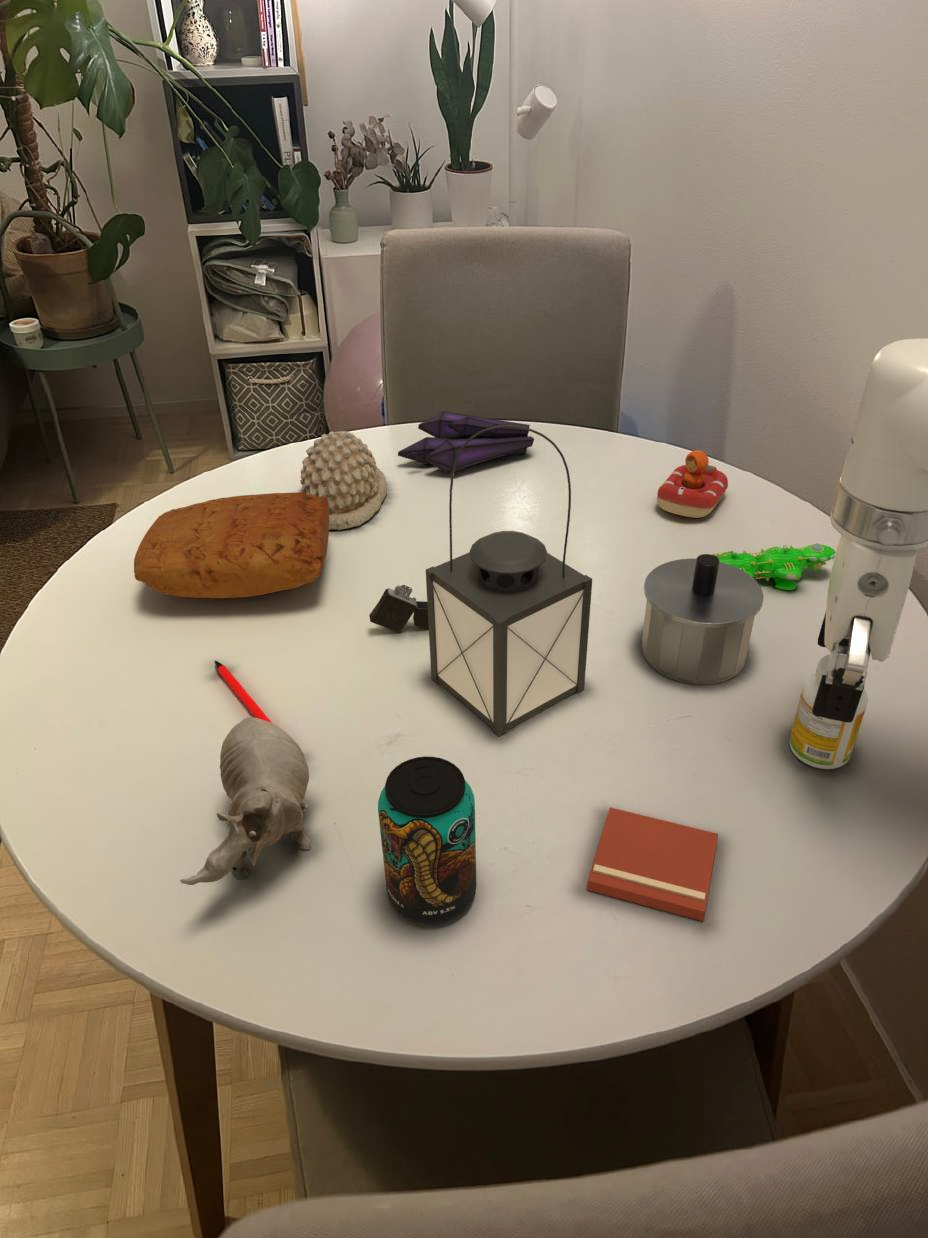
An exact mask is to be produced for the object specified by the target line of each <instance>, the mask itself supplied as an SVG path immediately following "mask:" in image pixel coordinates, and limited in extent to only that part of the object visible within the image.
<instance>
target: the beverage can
mask: <svg viewBox="0 0 928 1238" xmlns="http://www.w3.org/2000/svg"><path fill="white" fill-rule="evenodd" d="M379 794H380V795H379V797H378V801H377V812H378V822H379V831H380V840H381V851H382V858H383V859H382V860H383V867H384V876H385V885H386V893H387V896H388V899H389V902H390V904H391V906H392V907H393V908H394V909H395V910H396V911H397V912H398V913H399V914H400V915H402V916H403V917H404V918H406V919H408V920H411V921H413V922H416V923H421V924H438V923H444V922H447V921H449V920H453V919H454V918H456V917H457V916H459V915H460V914H462V913H463V912H464V911H465V910H466V909H468V907H469V906H470V904H471V903H472V902H473V900H474V897H475V895H476V891H477V886H478V885H477V845H476V843H477V841H476V840H477V839H476V836H477V835H476V801H475V795H474V791H473V789H472V787H471V786H470V784H469V783H468V781H467V780H466V779H465V777H464V774H463V772H462V771H461V769H460V768H459V767H458V766H457V765H456V764H455V763H453V762H451V761H449V760H447V759H444V758H442V757H438V756H437V757H436V756H425V755H424V756H417V757H413V758H410V759H407V760H404V761H403V762H400V763H399V764H398V765H396V766H395V767H394V768H393V769H392V770H391V771H390V772H389V774H388V776H387V777H386V780H385V784H384V786H383V788H382V790H381V791H380V793H379Z"/></svg>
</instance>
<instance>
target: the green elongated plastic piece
mask: <svg viewBox="0 0 928 1238" xmlns="http://www.w3.org/2000/svg"><path fill="white" fill-rule="evenodd" d="M836 551H837V550H836V549H834V548H832V547H830V546H829V545H825V544H822V543H811V544H809V545H807V546H802V547H800V548H799V547H798V548H795V547H794V546H793V545H790V546H789V547H788V545H782V547H780V546H772V547H768V548H766V549H764V548H761V549H760V551H759V552H750V553H748V552H747V551H746V550H745V549H744V550H743V551H742V553H737V551H735V550H730V551H724V552H721V553H720V552H718V553H716V554H715V553H712V554H711V555H714V556H716V557H717V558H718V559H719V562H722V563H726V564H729V565H732V566H734V567H736V568H739V569H741V570H742V571H744V572H746V573H747V574H749V575H750V576H751V577H753V578H754V579H755V580H757V579H758V580H760V579H765V580H766V581H767V582H769V581H770V579H772V578H773V579H774V582H775V586H774V588H777V589H780V590H784V591H793V590H795V589H796V588H797V586H798V585H797V583H796V581H798V580H799V581H800V579H801V578H802V575H803V572H804V571H805V570H806V568H808V569H810V570H812V571H813V572H814V573H820V572H821V571H822V570H820V568H822V567H823V566H826V565H827V562H829V561H831V560H834V559H835V555H836ZM821 573H822V572H821Z"/></svg>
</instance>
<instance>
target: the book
mask: <svg viewBox="0 0 928 1238" xmlns="http://www.w3.org/2000/svg"><path fill="white" fill-rule="evenodd" d="M718 839H719V833H718V832H717V833H716V832H713V831H709V830H705V829H701V828H697V827H693V826H688V825H685V824H680V823H676V822H672V821H667V820H665V819H659V818H654V817H651V816H647V815H642V814H639V813H635V812H630V811H626V810H624V809H623V810H622V809H619V808H616V807H615V808H614V807H609V809H608V812H607V816H606V818H605V822H604V826H603V828H602V832H601V835H600V838H599V842H598V845H597V847H596V848H597V849H596V851H595V855H594V859H593V862H592V864H591V869H590V871H589V875H588V879H587V885H586V890H587V891H589V892H593V893H597V894H599V895H605V896H608V897H612V898H615V899H619V900H623V901H627V902H630V903H634V904H637V905H641V906H645V907H649V908H653V909H656V910H660V911H664V912H667V913H671V914H675V915H678V916H681V917H685V918H689V919H693V920H696V921H700V922H704V920H705V915H706V911H707V904H708V898H709V892H710V886H711V881H712V880H711V878H712V874H713V868H714V863H715V856H716V850H717V845H718Z"/></svg>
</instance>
